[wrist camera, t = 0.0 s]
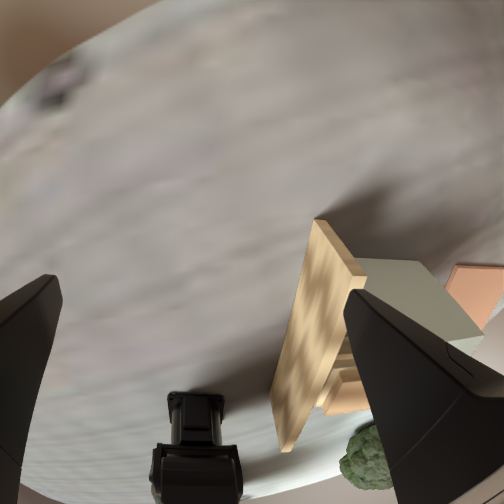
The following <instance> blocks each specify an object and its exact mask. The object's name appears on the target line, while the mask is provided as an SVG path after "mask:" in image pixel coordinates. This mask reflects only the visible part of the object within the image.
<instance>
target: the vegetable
mask: <svg viewBox="0 0 504 504" xmlns="http://www.w3.org/2000/svg"><path fill="white" fill-rule="evenodd" d="M346 452H347V454H346V455H345V456H344V457H343V458H341V459H340V461H339V463H340V471H341V472H342V474H343V476H344V477H345V478H347V479H348V480H349V481H350V482H351V483H352V484H354V486H356V487H357V488H359V489H363V490H368V489H372V490H374V489H378V490H384V489H390V488H391V487H393V483H392V479H391V475H390V472H389V471H390V470H389V468H388V464H387V461H386V457H385V454H384V451H383V447H382V444H381V441H380V437H379V434H378V431H377V428H376V425H372V426H371V427H370V428H367V429H365V428H364V429H361V432H360V433H359V434H358V435H355V436H353V437H351V438H350V441H349V443H348V446H347V449H346Z"/></svg>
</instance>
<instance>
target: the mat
mask: <svg viewBox="0 0 504 504" xmlns="http://www.w3.org/2000/svg"><path fill="white" fill-rule="evenodd" d="M445 289H446V290H447V291H448V293H449V294H450V295H451V296H452V297H453V298H454V299H455V300H456V302H457V303H458V304H459V305H460V306H461V307H462V308H463V310H464V311H465V312H466V313H467V314H468V315H469V317H470V318H471V319H472V320H473V321H474V322H475V324H476V325H477V326H478V327H479V328H480V330H481V331H482V329H483V328H484V326H485V324H486V322H487V321H488V319H489V317H490V315H491V314H492V312H493V310H494V308H495V306H496V304H497V302H498V301H499V299H500V297H501V295H502V293H503V291H504V267H487V266H464V265H455V266H454V269H453V271H452V273H451V276H450V278H449V280H448V282H447V284H446V287H445Z"/></svg>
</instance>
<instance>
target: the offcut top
mask: <svg viewBox="0 0 504 504" xmlns="http://www.w3.org/2000/svg"><path fill="white" fill-rule="evenodd" d="M322 408H323V411H324V415H325V416H327V415H335V414H342V413H349V412H355V411H362V410H368V409H370V406H369V403H368V400H367V397H366V394H365V391H364V388H363V385H362V382H361V379H360V376H359V373H358V370H356V371H346V372H339V373H338V375H337V377H336V379H335V381H334V383H333V385H332V387H331V389H330V391H329V393H328V395H327V397H326V399H325V401H324V402H323V404H322Z"/></svg>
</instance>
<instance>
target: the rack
mask: <svg viewBox="0 0 504 504" xmlns="http://www.w3.org/2000/svg"><path fill="white" fill-rule="evenodd" d="M366 279H367V275H366V274H365V272H364V271H363V269H362V268H361V267H360V265H359V264H358V263H357V261H356V260H355V258H354V257H353V256H352V254H351V253H350V252H349V250H348V249H347V248H346V246H345V245H344V244H343V242H342V241H341V240H340V238H339V237H338V236H337V234H336V233H335V232H334V231H333V229H332V228H331V227H330V225H329V224H328V223H327V221H326V220H318V219H314V220H313V224H312V229H311V233H310V238H309V242H308V247H307V251H306V255H305V260H304V264H303V268H302V272H301V276H300V280H299V285H298V289H297V293H296V297H295V301H294V305H293V309H292V313H291V316H290V320H289V324H288V328H287V332H286V336H285V339H284V343H283V347H282V350H281V354H280V358H279V361H278V365H277V369H276V372H275V376H274V379H273V383H272V386H271V390H270V393H269V396H270V401H271V406H272V411H273V416H274V421H275V426H276V431H277V435H278V440H279V445H280V450H281V453H283V452H291V450H292V448H293V446H294V444H295V442H296V440H297V439H298V437H299V435H300V433H301V431H302V429H303V427H304V425H305V423H306V421H307V419H308V417H309V415H310V413H311V411H312V409H313V407H314V405H315V403H316V401H317V398H318V396H319V394H320V392H321V390H322V388H323V386H324V383H325V381H326V379H327V377H328V375H329V372H330V370H331V368H332V366H333V363H334V361H335V360H344V359H354V358H353V355H352V351H351V347H350V342H349V338H348V336H347V337H345V335H346V332H347V330H346V326H345V321H344V317H343V310H344V307H345V304H346V301H347V298H348V296H349V293H350V291H351V290H352V289H363V288H364V285H365V282H366Z"/></svg>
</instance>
